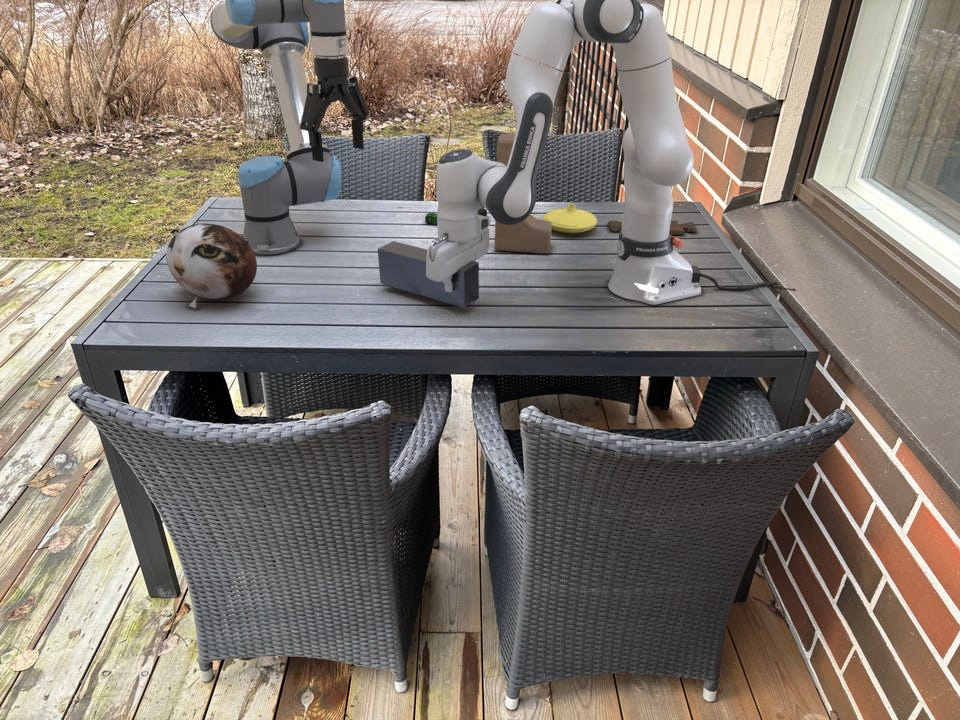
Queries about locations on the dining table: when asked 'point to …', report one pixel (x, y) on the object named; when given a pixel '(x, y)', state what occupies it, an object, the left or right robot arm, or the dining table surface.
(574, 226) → the yellow lid
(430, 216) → the handgun
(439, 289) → the bar
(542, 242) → the decorative block
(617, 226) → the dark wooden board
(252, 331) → the dining table surface
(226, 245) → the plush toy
